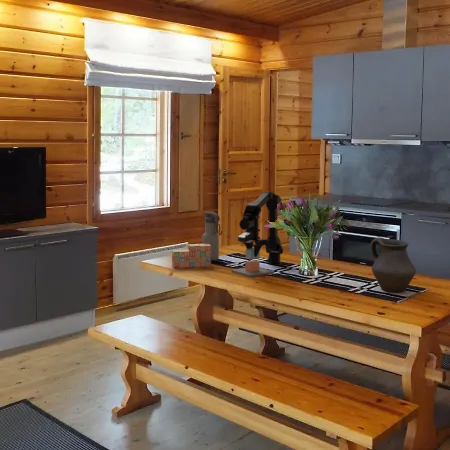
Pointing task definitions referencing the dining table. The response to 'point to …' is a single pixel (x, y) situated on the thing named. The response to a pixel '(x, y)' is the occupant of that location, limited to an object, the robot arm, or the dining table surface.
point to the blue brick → (251, 254)
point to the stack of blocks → (192, 256)
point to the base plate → (252, 274)
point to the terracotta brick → (252, 266)
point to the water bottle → (212, 234)
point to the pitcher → (392, 265)
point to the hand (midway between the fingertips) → (252, 256)
